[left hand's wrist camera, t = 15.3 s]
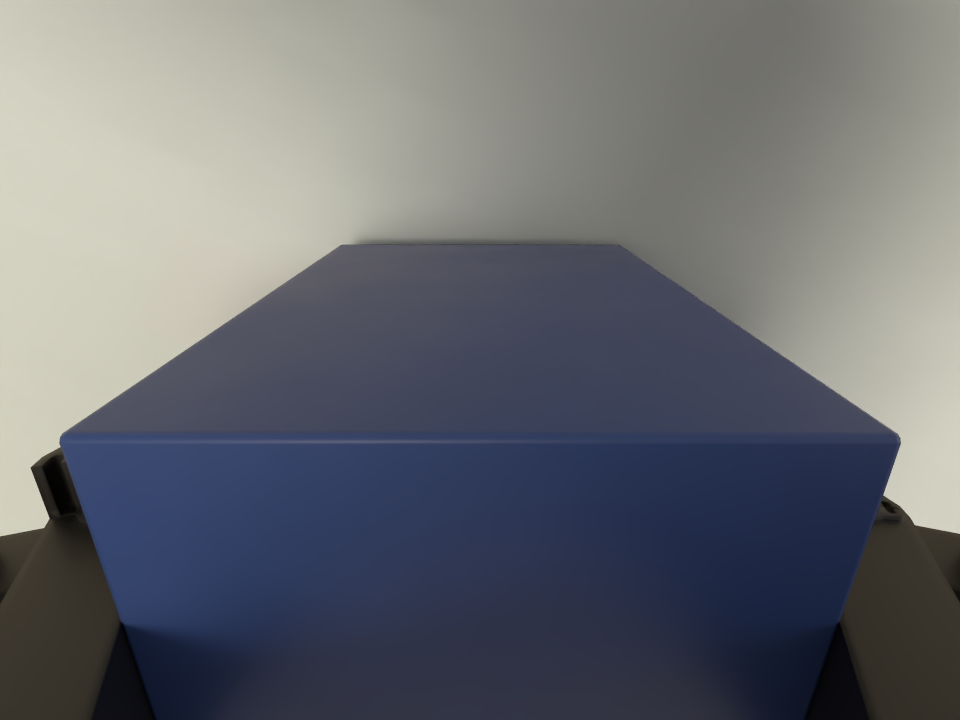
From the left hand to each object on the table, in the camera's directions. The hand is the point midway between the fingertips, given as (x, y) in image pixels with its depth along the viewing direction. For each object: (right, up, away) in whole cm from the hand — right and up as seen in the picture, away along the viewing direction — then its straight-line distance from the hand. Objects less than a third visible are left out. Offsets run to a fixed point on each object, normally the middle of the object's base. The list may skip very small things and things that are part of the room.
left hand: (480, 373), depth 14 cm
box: (0, -10, +5) cm, 11 cm away
